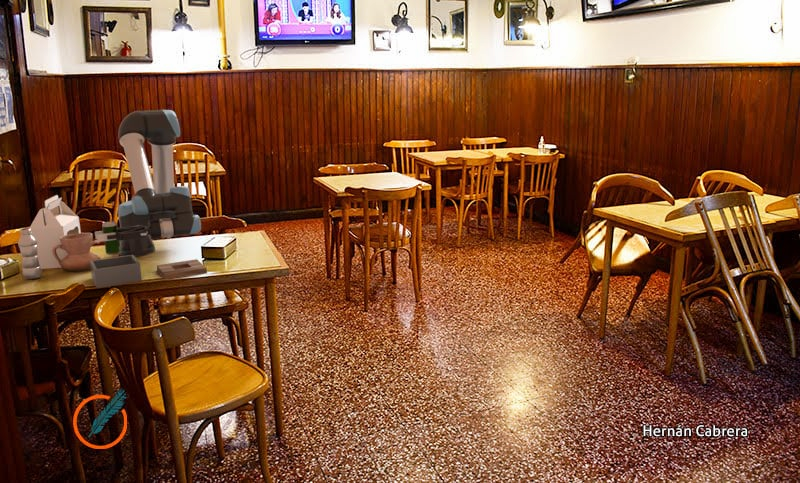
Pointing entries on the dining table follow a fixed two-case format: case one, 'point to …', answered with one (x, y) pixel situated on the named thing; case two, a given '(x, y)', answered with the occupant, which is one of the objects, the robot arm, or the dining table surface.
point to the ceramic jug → (76, 251)
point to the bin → (115, 271)
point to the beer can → (112, 245)
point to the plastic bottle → (29, 254)
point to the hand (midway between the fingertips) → (96, 236)
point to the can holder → (181, 269)
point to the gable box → (53, 230)
